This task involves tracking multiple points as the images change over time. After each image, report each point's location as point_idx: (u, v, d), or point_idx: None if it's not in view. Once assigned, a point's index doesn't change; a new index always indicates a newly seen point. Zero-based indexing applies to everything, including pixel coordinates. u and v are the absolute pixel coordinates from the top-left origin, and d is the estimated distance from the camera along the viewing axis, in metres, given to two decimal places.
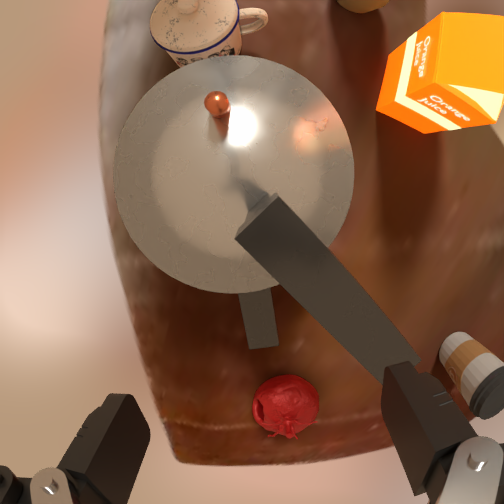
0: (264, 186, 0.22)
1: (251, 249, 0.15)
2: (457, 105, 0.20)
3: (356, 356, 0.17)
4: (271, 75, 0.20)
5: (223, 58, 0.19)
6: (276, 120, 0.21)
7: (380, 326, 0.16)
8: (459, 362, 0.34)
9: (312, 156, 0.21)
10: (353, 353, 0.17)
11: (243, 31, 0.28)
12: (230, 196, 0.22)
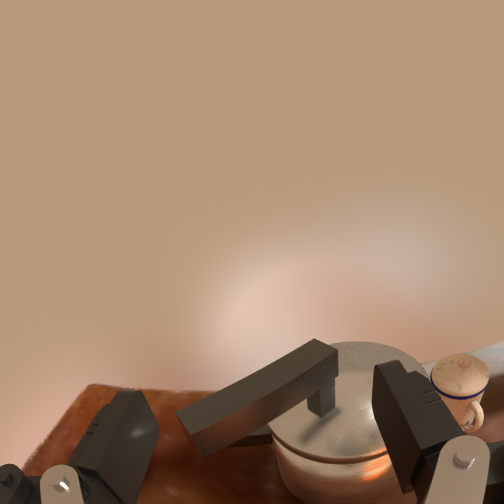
0: (339, 405, 0.27)
1: (308, 343, 0.26)
2: None
3: (221, 390, 0.22)
4: None
5: (424, 373, 0.28)
6: None
7: (242, 401, 0.20)
8: None
9: (365, 427, 0.23)
10: (224, 389, 0.22)
11: (465, 426, 0.28)
12: None
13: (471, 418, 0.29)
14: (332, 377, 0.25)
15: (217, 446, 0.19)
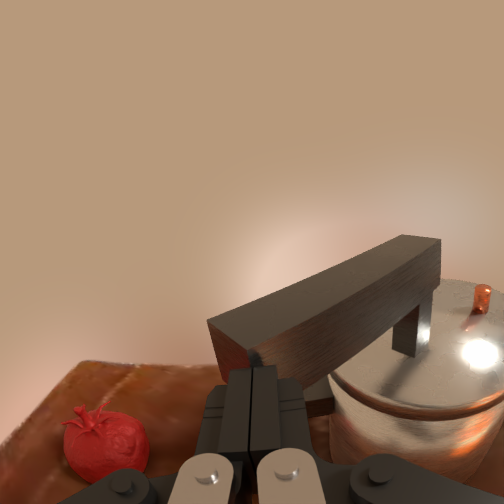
0: (432, 341, 0.18)
1: (397, 238, 0.18)
2: None
3: (289, 286, 0.13)
4: None
5: None
6: (491, 336, 0.16)
7: (335, 293, 0.12)
8: None
9: (476, 362, 0.15)
10: (295, 284, 0.14)
11: None
12: None
13: None
14: (435, 284, 0.16)
15: None
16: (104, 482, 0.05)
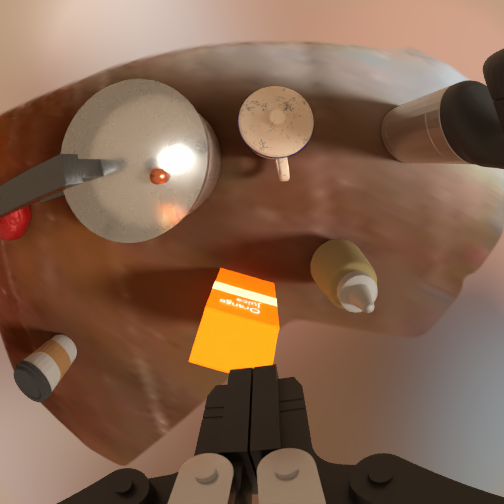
0: (107, 176, 0.31)
1: (53, 159, 0.23)
2: None
3: None
4: (165, 218, 0.32)
5: (194, 197, 0.31)
6: (137, 204, 0.31)
7: (5, 206, 0.24)
8: (51, 349, 0.46)
9: (109, 212, 0.32)
10: (0, 186, 0.23)
11: None
12: (112, 153, 0.30)
13: None
14: (75, 185, 0.26)
15: (5, 215, 0.27)
16: (104, 482, 0.05)
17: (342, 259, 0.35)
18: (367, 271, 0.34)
